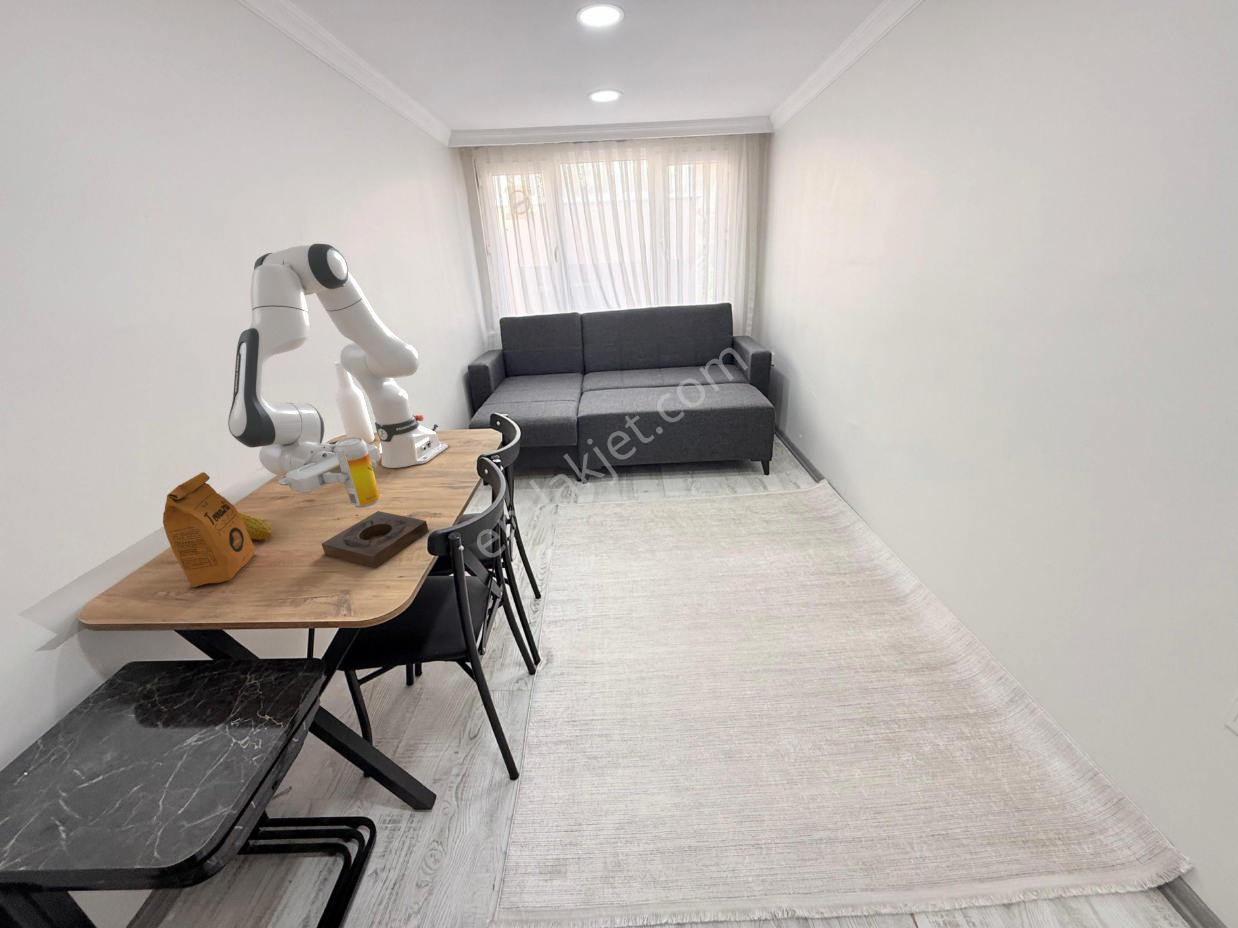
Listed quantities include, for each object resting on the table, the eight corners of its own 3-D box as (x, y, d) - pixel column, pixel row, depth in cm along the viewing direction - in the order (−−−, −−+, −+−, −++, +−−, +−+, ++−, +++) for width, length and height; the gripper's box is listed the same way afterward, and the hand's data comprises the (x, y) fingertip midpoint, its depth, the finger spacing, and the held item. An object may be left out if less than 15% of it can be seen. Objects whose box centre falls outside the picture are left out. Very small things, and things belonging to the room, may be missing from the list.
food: (206, 534, 125) (197, 513, 122) (229, 523, 130) (220, 503, 127) (263, 547, 117) (254, 525, 115) (285, 534, 122) (277, 513, 120)
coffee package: (266, 553, 115) (231, 467, 106) (232, 586, 103) (190, 492, 95) (222, 557, 114) (183, 470, 106) (182, 590, 103) (135, 497, 94)
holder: (380, 521, 126) (377, 510, 125) (428, 531, 120) (426, 520, 119) (325, 554, 113) (321, 543, 112) (376, 568, 107) (372, 556, 106)
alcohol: (366, 436, 189) (344, 358, 177) (380, 440, 184) (358, 359, 173) (344, 444, 182) (320, 363, 170) (357, 447, 178) (334, 365, 166)
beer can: (386, 497, 115) (370, 437, 109) (367, 510, 109) (350, 447, 103) (365, 495, 116) (348, 435, 110) (345, 507, 111) (326, 445, 105)
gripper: (269, 469, 105) (313, 477, 99) (350, 436, 122) (392, 442, 117) (278, 495, 107) (322, 504, 102) (357, 460, 124) (398, 466, 119)
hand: (360, 471), depth 109 cm, fingers closed on beer can, 6 cm apart
